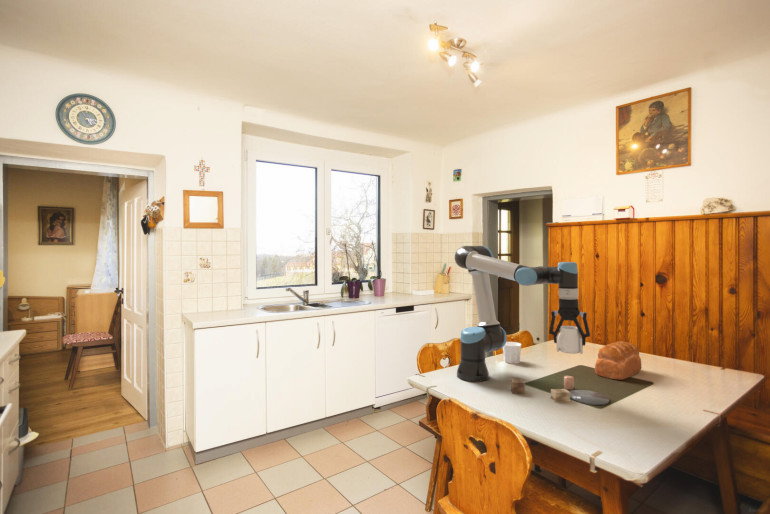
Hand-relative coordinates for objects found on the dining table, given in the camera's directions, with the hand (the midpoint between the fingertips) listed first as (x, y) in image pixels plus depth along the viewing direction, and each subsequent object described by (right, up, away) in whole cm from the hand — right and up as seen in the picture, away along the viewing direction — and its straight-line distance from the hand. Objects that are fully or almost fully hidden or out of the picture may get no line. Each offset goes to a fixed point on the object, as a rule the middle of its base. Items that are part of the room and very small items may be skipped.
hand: (569, 351), depth 165 cm
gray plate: (+6, -19, -3) cm, 20 cm away
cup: (-8, -18, +50) cm, 54 cm away
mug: (-1, 0, +1) cm, 1 cm away
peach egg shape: (+4, -18, +9) cm, 21 cm away
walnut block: (-20, -19, +5) cm, 28 cm away
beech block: (-6, -19, -5) cm, 20 cm away
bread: (+39, -18, +31) cm, 53 cm away
